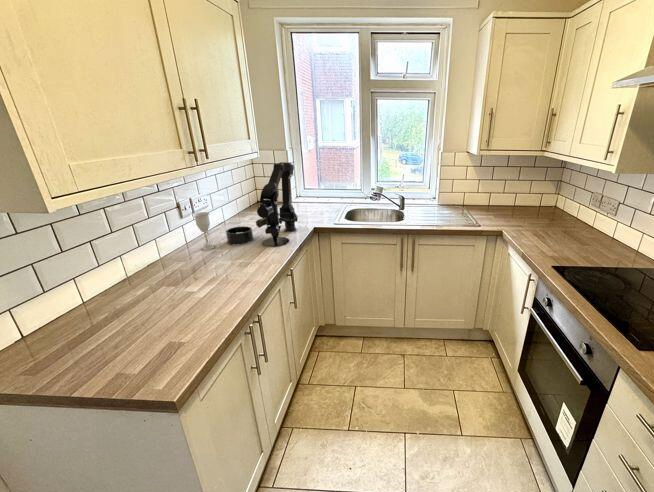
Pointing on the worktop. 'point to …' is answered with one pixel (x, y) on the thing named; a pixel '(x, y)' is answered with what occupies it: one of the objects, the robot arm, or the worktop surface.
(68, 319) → the worktop surface
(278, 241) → the tin lid
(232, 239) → the tin
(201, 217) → the chalice
